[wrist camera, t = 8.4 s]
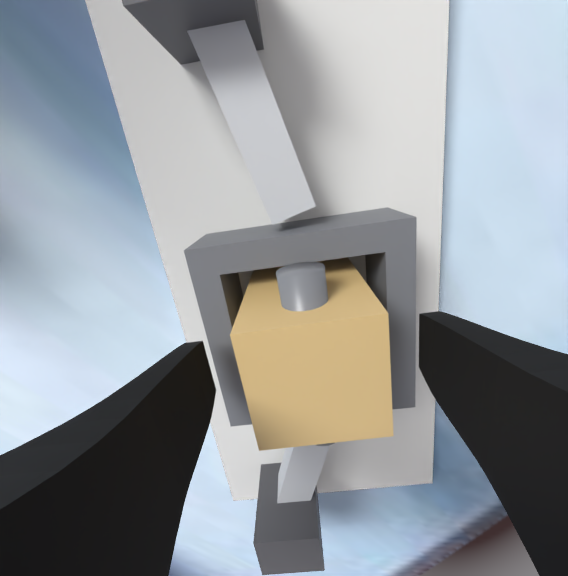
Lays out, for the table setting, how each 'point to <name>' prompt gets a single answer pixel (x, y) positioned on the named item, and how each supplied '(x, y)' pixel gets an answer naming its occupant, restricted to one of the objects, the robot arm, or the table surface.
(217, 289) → the coupling rig
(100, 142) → the table surface
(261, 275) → the block
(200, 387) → the robot arm
